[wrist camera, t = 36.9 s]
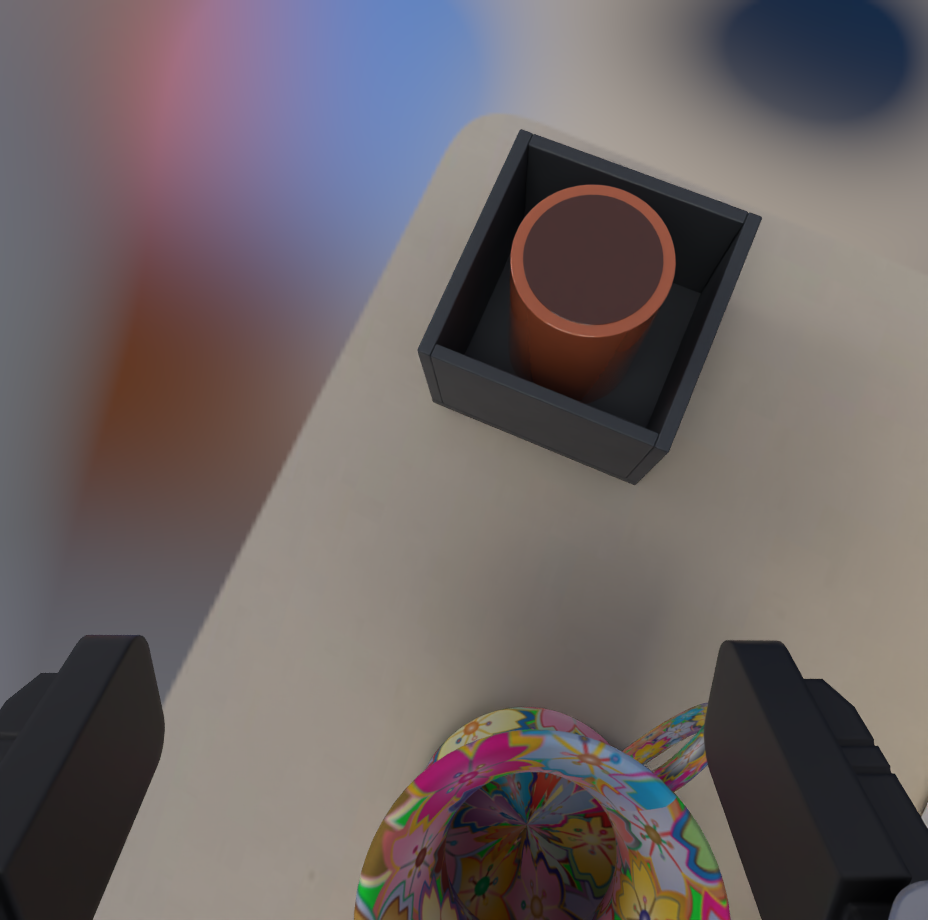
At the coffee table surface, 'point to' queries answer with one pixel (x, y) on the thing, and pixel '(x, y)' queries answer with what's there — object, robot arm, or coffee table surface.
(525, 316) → the cup
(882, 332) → the coffee table surface
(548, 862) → the mug
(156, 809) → the coffee table surface
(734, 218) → the tub
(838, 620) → the coffee table surface
